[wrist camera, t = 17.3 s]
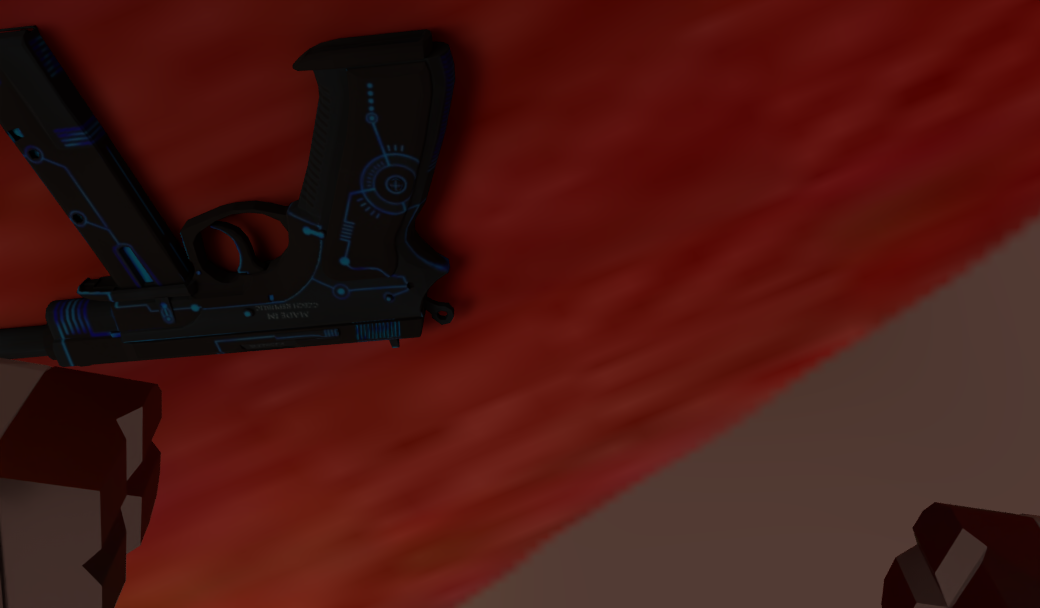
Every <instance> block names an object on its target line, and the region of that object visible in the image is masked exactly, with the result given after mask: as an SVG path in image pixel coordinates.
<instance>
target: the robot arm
mask: <svg viewBox="0 0 1040 608" xmlns="http://www.w3.org/2000/svg"><path fill="white" fill-rule="evenodd" d="M161 418H162V391H161V389H160V387H159V386H158V384H155V383H149V382H143V381H137V380H131V379H126V378H120V377H114V376H108V375H103V374H97V373H91V372H85V371H80V370H74V369H68V368H62V367H56V366H54V367H50V366H47V365H41V364H35V363H29V362H23V361H17V360H11V359H5V358H0V608H114V607H115V604H116V602H117V600H118V597H119V595H120V593H121V590H122V588H123V586H124V583H125V581H126V554H127V553H129V552H130V551H132V550H134V549H135V548H137V547H138V546H140V545H141V542H142V540H143V537H144V535H145V532H146V530H147V527H148V525H149V522H150V518H151V514H152V511H153V507H154V503H155V499H156V496H157V490H158V483H159V475H160V461H161V452H160V451H159V449H158V448H157V447H156V446H155V444H154V443H153V442H152V438H153V436H154V434H155V432H156V430H157V427H158V425H159V423H160V421H161ZM913 531H914V535H915V538H916V542H917V545H915V546H914V547H912V548H910V549H909V550H907V551H906V552H904V553H902V554H900V555H899V556H897V557H896V558H895V560H894V562H893V563H892V565H891V567H890V569H889V571H888V573H887V575H886V577H885V579H884V586H883V595H882V603H881V605H882V608H1040V516H1037V515H1029V514H1019V515H1018V514H1013V513H1006V512H999V511H992V510H985V509H977V508H971V507H965V506H958V505H951V504H944V503H937V502H934V503H933V504H932V505H930V506H929V507H928V508H926V509H925V510H924V511H923V512H922V513H921V515H920V517H919V518H918V520H917V521H916V523H915V525H914V526H913Z"/></svg>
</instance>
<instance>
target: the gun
mask: <svg viewBox="0 0 1040 608" xmlns="http://www.w3.org/2000/svg"><path fill="white" fill-rule="evenodd" d="M28 28H33V29H34V30H33V31H28V30H26V29H28ZM19 29H24V30H20V31H14V32H5V33H0V124H1V126H2V127H3V129H4V130H5V132H6V133H7V134H8V135H9V137H10V138H11V139H12V141H13V142H14V143H15V145H16V146H17V148H18V149H19V150H20V152H21V153H22V154H23V156H24V157H25V158H26V160H27V161H28V162H29V164H30V165H31V167H32V168H33V169H34V171H35V172H36V173H37V175H38V176H39V177H40V179H41V180H42V182H43V183H44V184H45V186H46V187H47V188H48V190H49V191H50V192H51V194H52V195H53V197H54V198H55V199H56V201H57V202H58V203H59V205H60V206H61V207H62V209H63V210H64V211H65V213H66V214H67V216H68V217H69V218H70V220H71V221H72V222H73V224H74V225H75V226H76V228H77V229H78V231H79V232H80V233H81V235H82V236H83V237H84V239H85V240H86V241H87V243H88V244H89V246H90V247H91V248H92V250H93V251H94V253H95V254H96V255H97V257H98V258H99V260H100V261H101V262H102V264H103V265H104V267H105V268H106V270H107V271H108V272H109V274H110V275H111V276H108V277H101V278H99V279H93V280H90V278H87V279H86V280H85V281H84V282H83V283H82V284H81V285H79V287H78V290H77V293H78V294H79V295H81V296H82V297H83V298H79V299H68V300H57V301H52V302H51V303H50V304H49V305H48V307H47V308H46V321H47V324H46V325H45V326H33V327H21V328H10V329H0V358H5V359H16V358H27V357H39V356H49V357H50V358H51V359H53V360H57V361H58V363H59V365H60V366H62V367H67V366H81V367H82V366H90V365H92V364H103V363H115V362H128V361H140V360H152V359H164V358H176V357H188V356H200V355H212V354H224V353H236V352H247V351H259V350H271V349H283V348H295V347H307V346H319V345H331V344H343V343H355V342H367V341H379V340H390V343H391V346H392V348H397V347H399V346H400V345H399V339H403V338H414V337H420V336H421V333H422V327H423V322H424V317H425V311H426V310H428V311H429V312H430V313H431V314H432V318H433V319H435V320H436V321H437V322H439V323H440V324H441V325H443V324H448V323H450V322H451V321H452V319H453V317H454V308H453V307H452V306H451V305H450V304H449V303H445V302H437V301H434V300H432V299H430V298H429V297H427V291H428V289H429V288H430V287H431V286H432V285H433V284H434V283H435V282H436V281H437V280H438V279H439V278H441V277H442V276H444V275H445V274H447V273H448V272H449V269H450V265H449V259H448V258H446V257H444V256H442V255H441V254H439V253H437V252H436V251H435V250H433V249H432V248H431V247H430V246H429V245H428V244H427V243H426V242H425V241H424V240H423V239H422V238H421V237H420V236H419V234H418V233H417V232H416V230H415V219H416V217H417V215H418V213H419V212H420V210H421V208H422V207H423V205H424V203H425V201H426V198H427V195H428V191H429V187H430V184H431V180H432V177H433V173H434V170H435V166H436V163H437V159H438V155H439V152H440V148H441V145H442V141H443V138H444V134H445V131H446V126H447V120H448V115H449V109H450V104H451V99H452V93H453V88H454V82H455V70H454V62H453V58H452V55H451V51H450V48H449V45H448V44H446V43H444V42H433V41H432V34H431V32H430V30H427V29H426V30H417V31H407V32H398V33H388V34H379V35H369V36H360V37H350V38H341V39H336V40H332V41H327V42H323V43H320V44H318V45H316V46H314V47H312V48H310V49H309V50H307V51H306V52H305V53H304V54H303V55H301V56H300V57H299V58H298V59H297V60H296V62H295V63H294V64H293V68H294V69H295V70H297V71H305V70H313V71H314V74H315V77H316V80H317V83H318V86H319V102H318V108H317V114H316V120H315V126H314V132H313V138H312V144H311V150H310V156H309V161H308V167H307V171H306V174H305V178H304V182H303V186H302V190H301V194H300V198H299V200H297V201H294V202H292V203H291V204H290V206H283V205H278V204H274V203H269V202H262V201H247V202H235V203H231V204H227V205H222V206H220V207H218V208H215V209H213V210H211V211H208V212H206V213H203V214H201V215H199V216H196V217H194V218H192V219H189V220H188V221H187V222H186V224H185V225H184V226H183V228H182V229H181V231H180V232H181V233H180V234H181V237H182V240H183V242H182V243H184V246H185V247H184V248H186V250H185V251H187V252H186V253H187V256H188V258H187V256H186V255H185V253H184V251H183V250H182V248H181V247H180V245H179V243H178V242H177V240H176V239H175V237H174V236H173V234H172V232H171V231H170V229H169V228H168V226H167V225H166V223H165V222H164V220H163V219H162V217H161V216H160V214H159V213H158V211H157V210H156V208H155V207H154V205H153V204H152V202H151V201H150V199H149V198H148V196H147V195H146V193H145V192H144V190H143V189H142V187H141V186H140V184H139V182H138V181H137V179H136V178H135V176H134V175H133V173H132V172H131V170H130V169H129V167H128V166H127V164H126V163H125V161H124V160H123V158H122V157H121V155H120V154H119V152H118V151H117V149H116V148H115V146H114V145H113V143H112V142H111V140H110V139H109V137H108V136H107V134H106V132H105V131H104V129H103V128H102V126H101V125H100V123H99V122H98V120H97V119H96V117H95V116H94V115H93V113H92V112H91V110H90V109H89V107H88V106H87V104H86V103H85V101H84V100H83V98H82V97H81V95H80V94H79V92H78V91H77V89H76V88H75V86H74V85H73V83H72V82H71V80H70V79H69V77H68V76H67V74H66V73H65V71H64V70H63V68H62V67H61V65H60V64H59V62H58V61H57V59H56V58H55V56H54V55H53V53H52V52H51V50H50V49H49V47H48V46H47V44H46V43H45V41H44V40H43V38H42V37H41V35H40V33H39V31H38V29H37V27H36V26H26V27H17V28H8V29H0V32H1V31H10V30H19ZM239 213H260V214H265V215H267V216H270V217H272V218H274V219H277V220H279V221H280V222H281V223H282V224H283V226H284V227H285V228H286V230H287V231H288V234H289V245H288V247H287V249H286V250H285V251H284V253H283V254H282V255H281V256H280V257H278V258H276V259H274V260H270V261H266V262H261V261H260V260H259V259H258V258H257V256H256V255H255V252H254V250H253V247H252V245H251V243H250V240H249V238H248V237H247V235H246V234H245V233H244V232H243V231H242V230H241V229H240V228H239V227H237V226H235V225H232V224H230V223H228V222H222V221H217V220H219V219H221V218H224V217H226V216H229V215H231V214H239ZM209 225H210V227H211V228H214V229H218V230H221V231H222V232H224V233H226V234H227V235H229V236H230V237H231V238H232V239H233V241H234V242H235V244H236V247H237V249H238V251H239V253H240V265H239V267H238V269H237V270H238V272H232V273H228V272H226V271H223V270H220V269H219V268H217V267H216V266H215V265H214V264H213V263H211V262H210V261H209V260H208V258H207V255H206V252H205V249H204V245H203V241H202V237H201V233H200V231H202V230H203V229H205V228H206V227H208V226H209ZM189 260H190V261H192V263H193V265H194V267H193V266H192V264H191V262H190V261H189ZM439 311H446V312H447V315H446V316H442V315H440V314H439V313H438V312H439Z"/></svg>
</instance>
